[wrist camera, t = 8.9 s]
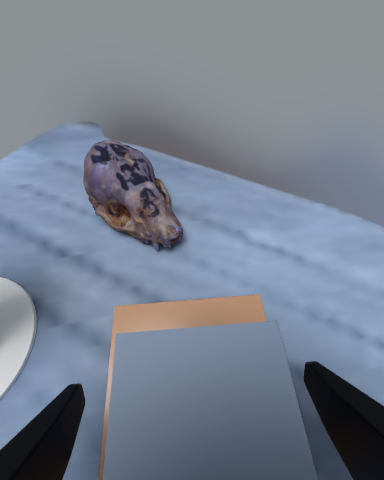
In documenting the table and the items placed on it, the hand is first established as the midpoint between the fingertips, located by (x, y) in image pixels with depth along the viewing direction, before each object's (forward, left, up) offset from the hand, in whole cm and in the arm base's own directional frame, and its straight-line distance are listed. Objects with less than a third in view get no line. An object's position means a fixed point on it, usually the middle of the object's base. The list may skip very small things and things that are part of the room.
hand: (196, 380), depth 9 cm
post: (0, 0, -8) cm, 8 cm away
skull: (+12, -10, -9) cm, 18 cm away
